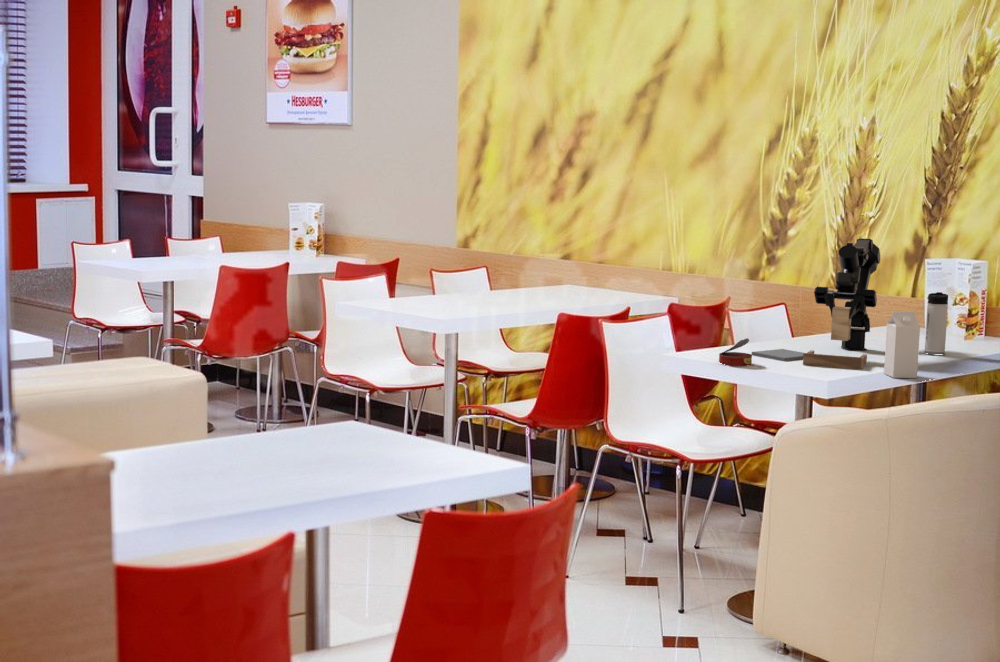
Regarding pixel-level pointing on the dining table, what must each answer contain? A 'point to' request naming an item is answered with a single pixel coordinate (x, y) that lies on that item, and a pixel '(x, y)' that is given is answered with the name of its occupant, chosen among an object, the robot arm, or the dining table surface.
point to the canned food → (736, 356)
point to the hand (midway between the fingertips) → (840, 317)
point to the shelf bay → (834, 360)
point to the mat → (780, 354)
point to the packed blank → (841, 323)
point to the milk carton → (902, 345)
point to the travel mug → (936, 323)
